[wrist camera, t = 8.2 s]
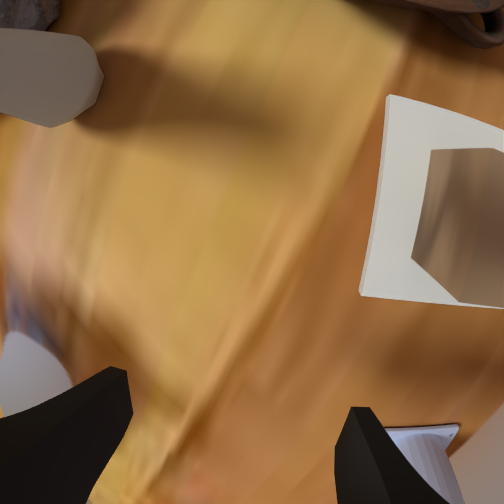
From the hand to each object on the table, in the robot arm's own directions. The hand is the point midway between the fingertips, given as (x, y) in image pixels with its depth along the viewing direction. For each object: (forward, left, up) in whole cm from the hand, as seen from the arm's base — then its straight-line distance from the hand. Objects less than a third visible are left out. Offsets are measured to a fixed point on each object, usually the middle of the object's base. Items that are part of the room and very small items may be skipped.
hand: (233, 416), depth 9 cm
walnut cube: (+6, -11, -9) cm, 16 cm away
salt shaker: (+12, +13, -10) cm, 20 cm away
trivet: (+7, -11, -10) cm, 16 cm away
